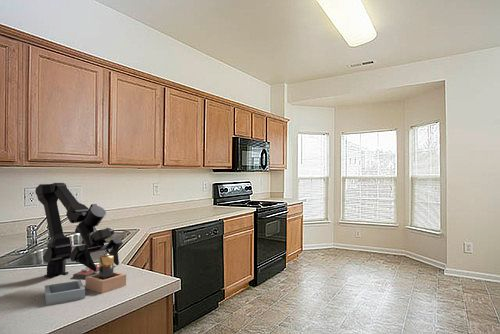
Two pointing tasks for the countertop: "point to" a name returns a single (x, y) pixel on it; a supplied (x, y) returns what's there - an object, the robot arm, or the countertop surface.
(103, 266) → the cell
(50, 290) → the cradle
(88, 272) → the walkie-talkie
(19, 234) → the countertop surface
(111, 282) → the bin
